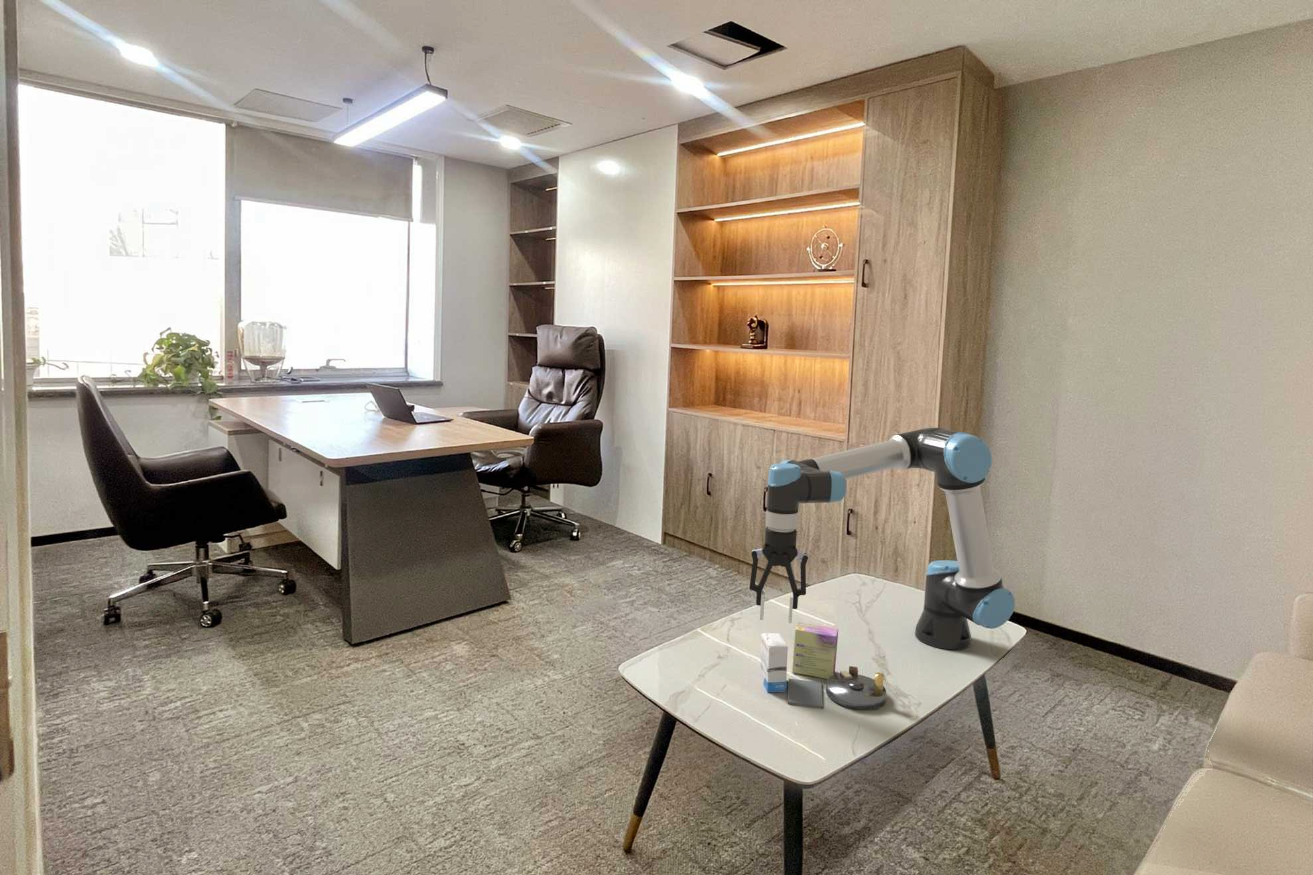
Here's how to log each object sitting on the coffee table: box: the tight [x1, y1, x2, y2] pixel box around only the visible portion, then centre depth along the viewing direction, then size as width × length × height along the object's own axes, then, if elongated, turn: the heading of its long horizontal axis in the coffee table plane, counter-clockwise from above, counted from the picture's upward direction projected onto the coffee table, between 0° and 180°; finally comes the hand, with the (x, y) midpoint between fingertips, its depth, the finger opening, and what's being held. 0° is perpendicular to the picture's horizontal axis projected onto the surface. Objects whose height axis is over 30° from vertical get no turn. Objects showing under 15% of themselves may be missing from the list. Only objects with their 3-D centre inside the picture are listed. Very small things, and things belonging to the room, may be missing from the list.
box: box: [791, 621, 839, 680], centre depth 189 cm, size 10×6×12 cm, turn 71°
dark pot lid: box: [825, 670, 887, 710], centre depth 178 cm, size 14×14×7 cm
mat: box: [787, 678, 824, 709], centre depth 178 cm, size 8×12×1 cm, turn 169°
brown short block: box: [848, 665, 859, 675], centre depth 186 cm, size 2×2×3 cm
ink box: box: [759, 632, 789, 693], centre depth 182 cm, size 9×5×12 cm, turn 5°
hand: (775, 619), depth 180 cm, fingers open, 6 cm apart
